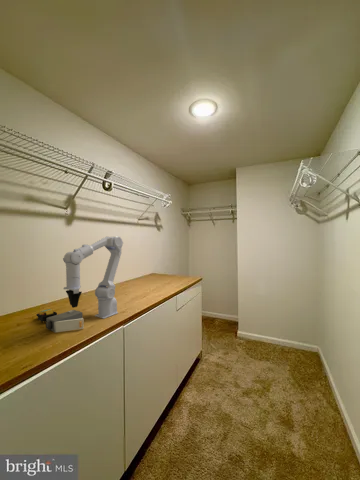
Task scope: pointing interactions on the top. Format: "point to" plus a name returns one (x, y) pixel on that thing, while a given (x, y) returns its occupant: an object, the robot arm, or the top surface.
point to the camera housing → (62, 318)
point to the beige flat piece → (68, 325)
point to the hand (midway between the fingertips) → (73, 305)
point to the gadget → (45, 314)
